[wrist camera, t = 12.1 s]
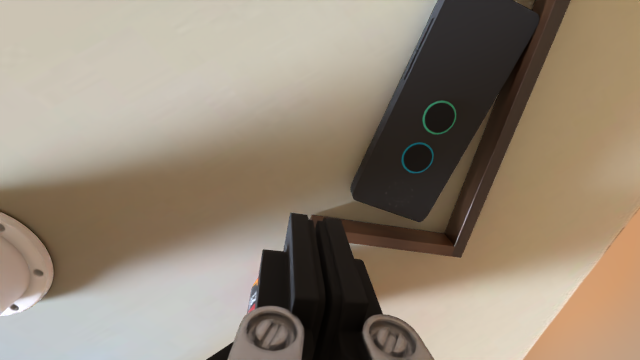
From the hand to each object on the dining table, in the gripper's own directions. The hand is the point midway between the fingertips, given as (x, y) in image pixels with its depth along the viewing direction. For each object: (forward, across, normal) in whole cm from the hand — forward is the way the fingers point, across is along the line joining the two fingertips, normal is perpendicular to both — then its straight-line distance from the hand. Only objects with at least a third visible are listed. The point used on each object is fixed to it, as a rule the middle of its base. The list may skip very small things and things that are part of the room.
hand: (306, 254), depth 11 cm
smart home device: (+20, -12, -3) cm, 24 cm away
